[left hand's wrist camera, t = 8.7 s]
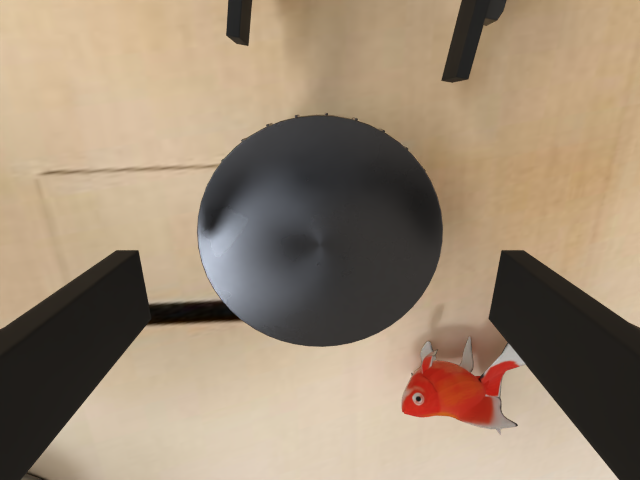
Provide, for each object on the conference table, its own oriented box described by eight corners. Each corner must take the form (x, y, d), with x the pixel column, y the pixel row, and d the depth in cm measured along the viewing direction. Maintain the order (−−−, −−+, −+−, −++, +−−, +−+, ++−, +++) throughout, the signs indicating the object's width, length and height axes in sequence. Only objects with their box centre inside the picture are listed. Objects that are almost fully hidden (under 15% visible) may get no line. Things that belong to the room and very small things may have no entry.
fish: (401, 312, 30) (484, 427, 24) (524, 280, 37) (616, 364, 30) (369, 378, 37) (426, 483, 30) (478, 341, 43) (544, 421, 37)
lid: (253, 348, 20) (247, 369, 19) (169, 155, 17) (153, 160, 15) (449, 298, 19) (461, 316, 18) (407, 80, 16) (417, 76, 14)
